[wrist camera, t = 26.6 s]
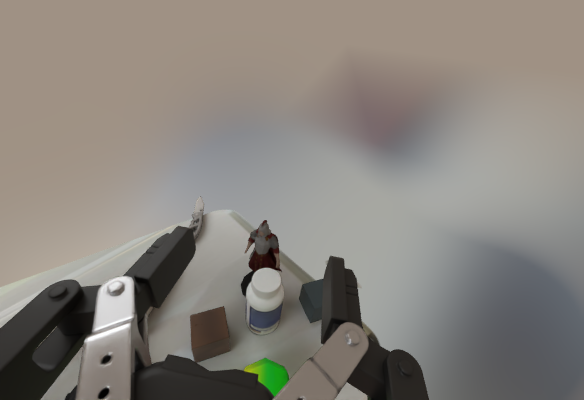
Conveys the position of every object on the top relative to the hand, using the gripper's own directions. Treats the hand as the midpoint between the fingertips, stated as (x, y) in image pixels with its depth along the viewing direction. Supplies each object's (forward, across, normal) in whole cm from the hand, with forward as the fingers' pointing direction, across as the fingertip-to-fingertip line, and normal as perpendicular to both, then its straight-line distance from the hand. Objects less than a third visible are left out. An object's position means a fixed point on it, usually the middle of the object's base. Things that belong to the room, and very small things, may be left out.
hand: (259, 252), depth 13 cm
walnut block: (+6, +7, +26) cm, 28 cm away
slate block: (+14, -7, +26) cm, 31 cm away
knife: (+29, +23, +25) cm, 45 cm away
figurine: (+16, +3, +26) cm, 31 cm away
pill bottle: (+10, +1, +26) cm, 28 cm away
